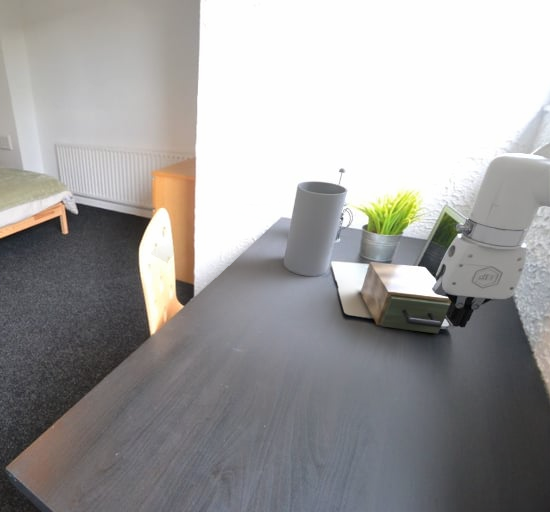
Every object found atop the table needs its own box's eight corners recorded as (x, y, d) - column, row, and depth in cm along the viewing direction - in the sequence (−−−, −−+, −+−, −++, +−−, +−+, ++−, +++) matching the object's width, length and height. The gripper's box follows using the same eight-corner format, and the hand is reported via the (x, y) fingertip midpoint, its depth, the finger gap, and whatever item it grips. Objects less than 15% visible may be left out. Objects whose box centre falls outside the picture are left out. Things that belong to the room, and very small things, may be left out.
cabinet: (437, 334, 84) (453, 298, 79) (376, 325, 86) (388, 291, 82) (412, 299, 96) (425, 267, 92) (360, 293, 99) (369, 261, 95)
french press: (319, 230, 137) (335, 163, 125) (351, 240, 129) (371, 169, 118) (306, 237, 131) (320, 168, 120) (338, 248, 123) (357, 175, 112)
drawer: (447, 346, 79) (460, 316, 75) (387, 338, 81) (398, 309, 77) (414, 300, 94) (424, 274, 90) (365, 295, 96) (373, 269, 93)
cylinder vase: (336, 273, 109) (358, 191, 97) (303, 281, 105) (321, 197, 93) (305, 255, 119) (322, 179, 108) (274, 262, 115) (287, 184, 103)
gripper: (451, 238, 59) (417, 329, 67) (566, 245, 55) (515, 340, 64) (431, 221, 65) (402, 306, 74) (533, 226, 62) (491, 315, 70)
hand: (455, 322), depth 69 cm, fingers closed
